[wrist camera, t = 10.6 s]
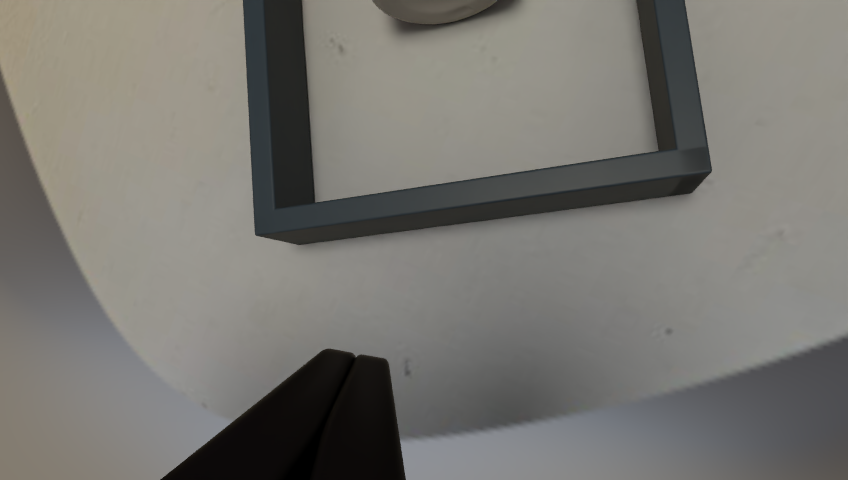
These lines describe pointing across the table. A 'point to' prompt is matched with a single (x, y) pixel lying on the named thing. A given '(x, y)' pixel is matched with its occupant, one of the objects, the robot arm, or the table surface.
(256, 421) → the robot arm
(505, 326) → the table surface
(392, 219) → the bin
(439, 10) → the pill bottle
